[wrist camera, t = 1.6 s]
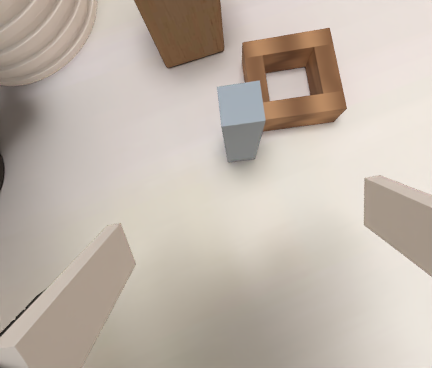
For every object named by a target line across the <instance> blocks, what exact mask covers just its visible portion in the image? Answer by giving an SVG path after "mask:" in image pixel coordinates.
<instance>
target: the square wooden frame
mask: <svg viewBox="0 0 432 368" xmlns="http://www.w3.org/2000/svg"><path fill="white" fill-rule="evenodd" d="M242 66H243V73H244V80H245V83H246V82H253V81H259V80H260V86H261V93H262V99H263V106H264V113H265V120H266V121H265V125H264V128H263V131H269V130H277V129H284V128H292V127H299V126H306V125H314V124H321V123H329V122H334V121H335V120H336V119H337V118H338V117H339V116H340V115H341V114H342V113H343V112H344V111H345V110H346V109H347V107H346V102H345V97H344V93H343V88H342V83H341V79H340V74H339V69H338V65H337V60H336V55H335V51H334V46H333V41H332V37H331V32H330V28H326V29H320V30H314V31H308V32H302V33H296V34H290V35H284V36H279V37H273V38H267V39H261V40H255V41H249V42H243V43H242ZM300 67H305V68H306V73H307V78H308V84H309V89H310V96H303V97H297V98H290V99H283V100H276V101H269V94H268V88H267V81H266V74H265V73H269V72H275V71H281V70H288V69H294V68H300Z"/></svg>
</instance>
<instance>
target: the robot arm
mask: <svg viewBox="0 0 432 368" xmlns="http://www.w3.org/2000/svg"><path fill="white" fill-rule="evenodd" d="M3 174H4V168H3V161H2V157H1V155H0V188H1V185H2V181H3ZM364 225H365V226H366V227H367V228H369V229H370V230H371V231H372V232H374V233H375V234H376V235H378V236H379V237H380V238H382V239H383V240H384V241H386V242H387V243H388V244H390V245H391V246H392V247H393V248H395V249H396V250H397V251H399V252H400V253H401V254H403V255H404V256H405V257H407V258H408V259H409V260H411V261H412V262H413V263H414V264H416V265H417V266H418V267H420V268H421V269H422V270H424V271H425V272H426V273H428V274H429V275H430V276H432V195H430V194H427V193H425V192H422V191H420V190H417V189H414V188H412V187H409V186H407V185H404V184H401V183H399V182H396V181H394V180H391V179H388V178H386V177H383V176H381V175H379V176H373V177H368V178H365V184H364ZM135 265H136V263H135V260H134V257H133V255H132V252H131V249H130V247H129V244H128V241H127V239H126V236H125V233H124V231H123V228H122V225H121V223H118V224H112V225H107V226H106V227H105V228H104V229H103V230H102V231H101V233H100V234H99V235H98V236H97V237H96V238H95V239H94V240H93V241H92V242H91V243H90V244H89V245H88V246H87V247H86V248H85V249H84V250H83V251H82V252H81V253H80V254H79V255H78V257H77V258H76V259H75V260H74V261H73V262H72V263H71V264H70V265H69V266H68V267H67V268H66V269H65V270H64V271H63V272H62V273H61V274H60V275H59V276H58V277H57V278H56V280H55V281H54V282H53V283H52V284H51V285H50V286H49V287H48V288H47V289H45V290H44V291H43V292H41V293H40V294H39V295H37V296H36V297H35V298H34V299H33V300H32V301H31V302H30V303H29V305H28V306H27V307H26V309H25V310H23V311H22V312H21V313H20V314H19V315H18V316H17V317H16V320H13V321H12V322H11V323H10V324H9V325H8V326H7V327H6V328H5V329H4V330H3V331H2V332H1V333H0V368H82V366H83V364H84V362H85V360H86V358H87V356H88V355H89V353H90V351H91V349H92V347H93V345H94V343H95V341H96V339H97V337H98V336H99V334H100V332H101V330H102V328H103V326H104V324H105V322H106V320H107V318H108V316H109V315H110V313H111V311H112V309H113V307H114V305H115V303H116V301H117V299H118V297H119V296H120V294H121V292H122V290H123V288H124V286H125V284H126V282H127V280H128V278H129V276H130V275H131V273H132V271H133V269H134V267H135Z"/></svg>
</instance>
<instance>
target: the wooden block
mask: <svg viewBox="0 0 432 368" xmlns="http://www.w3.org/2000/svg"><path fill="white" fill-rule="evenodd" d="M134 1H135V3H136V5H137V7H138V9H139V11H140V14H141V16H142V18H143V20H144V22H145V24H146V26H147V28H148V30H149V32H150V34H151V36H152V39H153V41H154V43H155V45H156V47H157V49H158V51H159V53H160V55H161V57H162V59H163V61H164V63H165V65H166V67H167V68H170V67H173V66H176V65H179V64H183V63H186V62H189V61H192V60H195V59H199V58H202V57H205V56H208V55H211V54H215V53H218V52H221V51H223V50H224V40H223V28H222V17H221V5H220V0H134Z"/></svg>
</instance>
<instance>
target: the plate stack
mask: <svg viewBox="0 0 432 368" xmlns="http://www.w3.org/2000/svg"><path fill="white" fill-rule="evenodd" d="M96 11H97V0H0V85H4V86H20V85H26V84H30V83H34V82H37V81H40V80H42V79H44V78H46V77H48V76H50V75H52V74H54V73H55V72H57V71H58V70H60V69H61V68H62V67H64V66H65V65H66V64H67V63H68V62H70V61H71V60H72V59H73V58H74V57H75V55H76V54H77V53H78V52H79V51H80V49H81V48H82V47H83V45H84V44H85V42H86V40H87V39H88V37H89V35H90V33H91V30H92V28H93V25H94V22H95V17H96Z"/></svg>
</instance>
